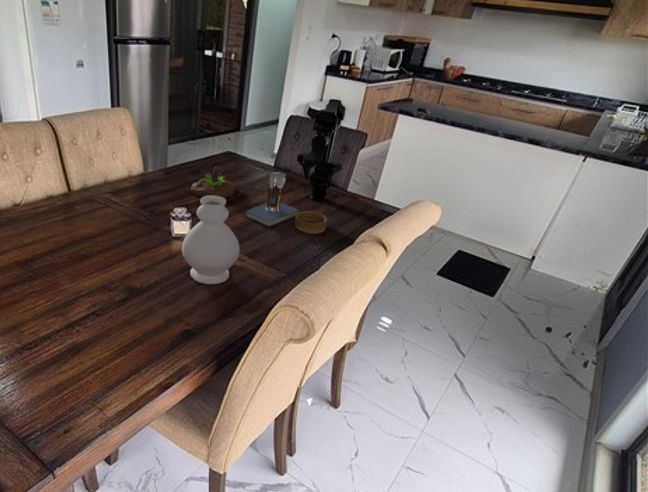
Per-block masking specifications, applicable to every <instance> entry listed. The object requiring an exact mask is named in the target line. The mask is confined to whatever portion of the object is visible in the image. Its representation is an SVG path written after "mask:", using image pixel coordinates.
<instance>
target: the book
mask: <svg viewBox="0 0 648 492" xmlns="http://www.w3.org/2000/svg"><path fill="white" fill-rule="evenodd" d="M267 204H268V202H267V203H264V204H261V205H258V206H255V207H253V208H250V209H247V210H245V215H244V217H246V218H247V219H250V220H252V221H255V222H257V223H258V224H261V225H264V226H266V227H268V228H270V227H273V226H276V225H278V224H281V223H283V222H286V221H287V220H291V219H293V218H295V217H296V214H297V213H299V212H300V209H298V208H295V207H293V206H291V205H288V204H286V203H283V202H281V211H280V212H279V213H270V212H268V211H266V207H267Z"/></svg>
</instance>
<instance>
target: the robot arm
mask: <svg viewBox="0 0 648 492" xmlns="http://www.w3.org/2000/svg"><path fill="white" fill-rule="evenodd" d="M342 102H343V101H342V100H341V99H337V98H336V99H335V98H331V99H330V98H329V99H328V103H327V104H326V105H325V108H322V109H320V110H319V111H318V112H317V113H316V115H315V120H314V124H313V128H312V131H316V133H315V135H314V136H313V137H312V138H311V141H310V146H311V150H310V152H308V153H307V152H301V153H299V154H298V155H296V160H295V161H296V162H298V165H300V166H301V168H302V170H303V175H304V180H305V181H308V179H309V177H310V180H309V185H310V186H312V187H311V194H308V195H307V197H308V198H309V199H312V200H313V201H314V202H321V201H327V200H328V198H327V197H326V195H327V189H329V188H331V187H332V181H333V180H332V179H333V176H334V175H335V174H336V173H339V172H341V171H342V170H343V165H342V163H341V162H338V161H335V160H334V161H330V159H331V155H332V150H333V146H334V142H335V137H336V133H337V131H338V129H339V128H340V127H341V126H342V123H343V121H344V120H345V117H346V106H345V105H343V103H342ZM311 168H313V170H312V172H311ZM310 173H311V174H310Z"/></svg>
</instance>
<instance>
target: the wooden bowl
mask: <svg viewBox="0 0 648 492" xmlns="http://www.w3.org/2000/svg"><path fill="white" fill-rule="evenodd" d="M328 221H329V219H328V217H327V216H326V215H325V214H322V213H320V212H317V211H309V210H308V211H307V210H305V211H298V213H297V214H296V216H295V217H294V224H293V226H294V228H295V229H296V230H298V231H300V232H303V233H307V234H314V235H315V234H322V233H324V232H325V231H326V229H327V225H328Z"/></svg>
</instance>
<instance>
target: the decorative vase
mask: <svg viewBox="0 0 648 492" xmlns="http://www.w3.org/2000/svg"><path fill="white" fill-rule="evenodd" d="M199 203H200V205H199V206H198V208H197V209H196V216H197V218H198V219H199V220H200V221H199V222H198V223H196V224H195V225H194V226H193V227H192V228H191V229H190V230H189V231H188V232H187V234H186V235H185V237H184V239H183V241H182V245H181V252H182V256H183V258H184V260H185V261H186V262H187V264H188V265H189V267H191V268H190V271H189V276H190V277H191V278H192V280H194V281H195V282H197V283H199V284H203V285H204V284H205V285H219V284H221V283H224V282H226V281H227V280H228V279H229V277H230V271H229V269H230V268H231V267H232V266H233V265H234V264H235V263H236V262H237V261H238V259H239V256H240V243H239V240H238V238H237V236H236V235H235V233H234V232H233V230H232V229H231V228H230V227H229V226H228V225H227V224H226V223H225V221H226V220H227V219H228V218H229V210H228V208H227V207H226V205H227V199H224V198H223V197H220V196H214V195H209V196H201V198H200V200H199Z"/></svg>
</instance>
